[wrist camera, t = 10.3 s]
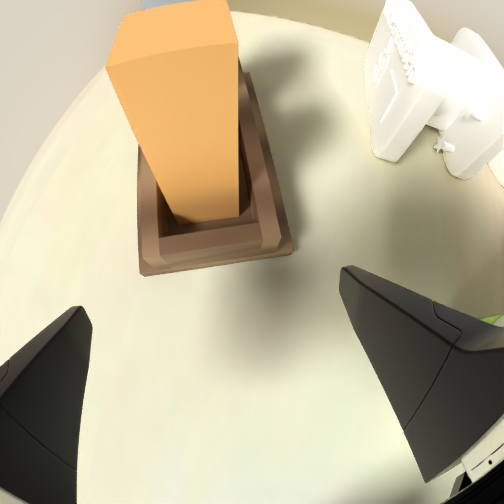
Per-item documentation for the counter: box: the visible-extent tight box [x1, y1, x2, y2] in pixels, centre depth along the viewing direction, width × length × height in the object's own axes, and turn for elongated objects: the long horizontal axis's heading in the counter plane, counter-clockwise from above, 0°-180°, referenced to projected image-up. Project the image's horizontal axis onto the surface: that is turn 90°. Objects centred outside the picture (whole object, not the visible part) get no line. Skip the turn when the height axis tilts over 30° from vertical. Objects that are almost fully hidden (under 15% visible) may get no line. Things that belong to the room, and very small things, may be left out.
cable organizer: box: [363, 0, 504, 180], centre depth 19 cm, size 15×11×12 cm
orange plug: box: [105, 0, 239, 225], centre depth 13 cm, size 4×4×13 cm
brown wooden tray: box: [137, 57, 293, 277], centre depth 20 cm, size 18×10×4 cm, turn 10°
